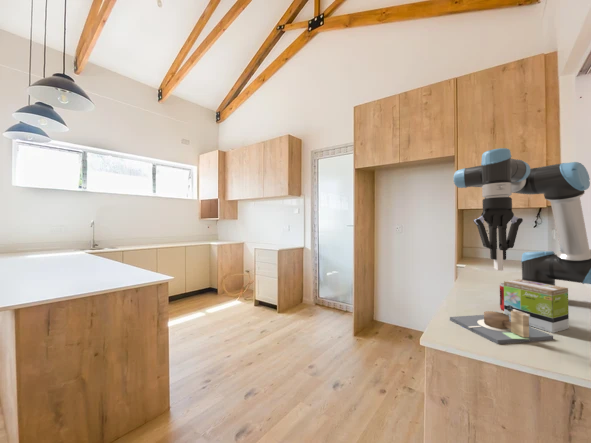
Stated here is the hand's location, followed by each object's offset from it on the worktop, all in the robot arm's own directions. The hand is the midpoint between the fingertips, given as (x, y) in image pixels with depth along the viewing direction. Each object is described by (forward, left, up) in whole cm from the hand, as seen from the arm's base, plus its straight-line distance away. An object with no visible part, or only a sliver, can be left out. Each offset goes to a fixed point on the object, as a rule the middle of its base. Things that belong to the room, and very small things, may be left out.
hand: (498, 269), depth 82 cm
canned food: (-28, -21, -22) cm, 42 cm away
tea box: (-23, -8, -22) cm, 34 cm away
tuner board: (-5, -6, -22) cm, 24 cm away
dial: (-5, -2, -21) cm, 21 cm away
